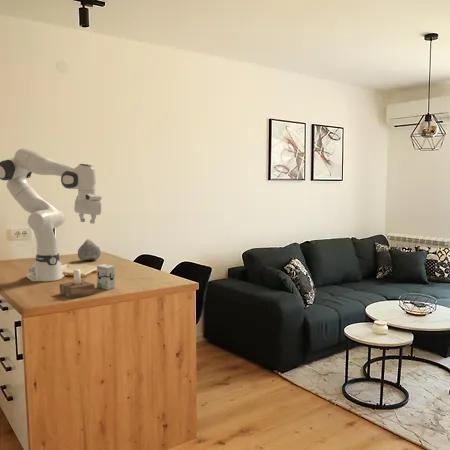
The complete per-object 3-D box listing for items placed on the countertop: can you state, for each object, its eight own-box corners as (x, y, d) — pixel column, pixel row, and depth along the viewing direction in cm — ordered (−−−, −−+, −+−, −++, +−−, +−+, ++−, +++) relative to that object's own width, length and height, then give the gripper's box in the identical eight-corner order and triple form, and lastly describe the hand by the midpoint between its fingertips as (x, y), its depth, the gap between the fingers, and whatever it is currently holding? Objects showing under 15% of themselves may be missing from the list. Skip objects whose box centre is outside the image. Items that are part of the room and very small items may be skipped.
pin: (72, 289, 228) (72, 269, 227) (78, 288, 230) (78, 269, 229) (76, 291, 226) (75, 270, 224) (82, 289, 228) (81, 270, 227)
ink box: (96, 287, 241) (96, 265, 240) (103, 285, 245) (103, 263, 244) (108, 290, 237) (107, 267, 235) (115, 288, 241) (115, 265, 239)
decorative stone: (99, 258, 321) (98, 237, 319) (102, 261, 312) (101, 239, 310) (76, 260, 314) (76, 238, 312) (79, 263, 305) (78, 240, 303)
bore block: (59, 293, 227) (59, 283, 227) (81, 289, 236) (81, 280, 236) (72, 298, 219) (72, 288, 219) (94, 294, 228) (94, 284, 228)
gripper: (71, 195, 241) (71, 221, 242) (92, 196, 227) (92, 224, 228) (82, 194, 245) (82, 220, 247) (103, 196, 232) (103, 223, 233)
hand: (87, 222), depth 237 cm, fingers open, 8 cm apart
